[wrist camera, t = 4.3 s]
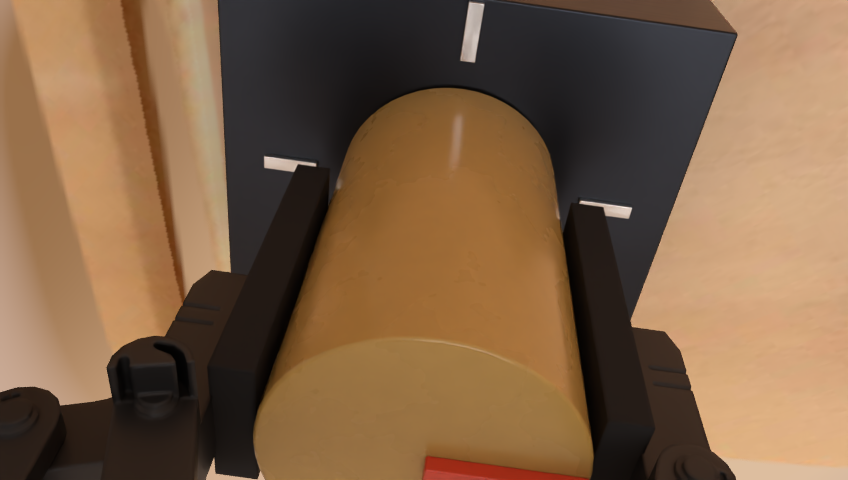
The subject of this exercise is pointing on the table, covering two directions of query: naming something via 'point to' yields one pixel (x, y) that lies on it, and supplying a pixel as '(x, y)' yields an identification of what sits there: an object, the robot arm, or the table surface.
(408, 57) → the panel
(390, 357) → the tan pointer knob
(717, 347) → the table surface
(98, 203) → the table surface
